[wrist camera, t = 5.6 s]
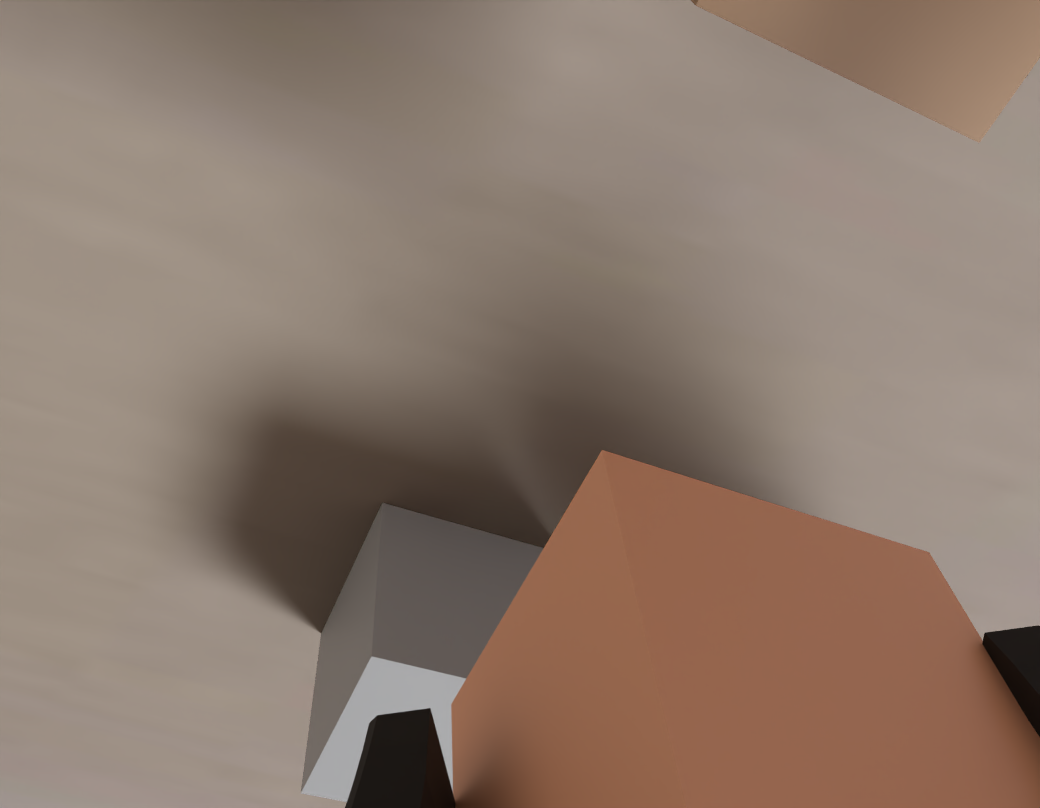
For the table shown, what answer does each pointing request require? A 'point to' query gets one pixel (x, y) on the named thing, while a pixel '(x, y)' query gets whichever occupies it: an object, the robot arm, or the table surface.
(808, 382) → the table surface
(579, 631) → the terracotta block
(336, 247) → the table surface
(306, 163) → the table surface
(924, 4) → the wooden cube
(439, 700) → the light gray block
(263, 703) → the table surface
